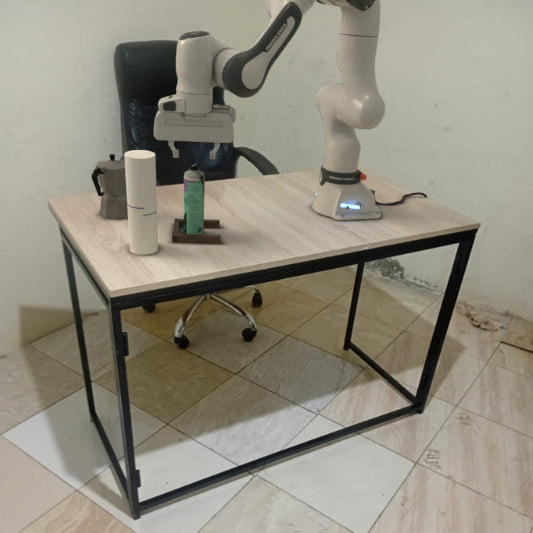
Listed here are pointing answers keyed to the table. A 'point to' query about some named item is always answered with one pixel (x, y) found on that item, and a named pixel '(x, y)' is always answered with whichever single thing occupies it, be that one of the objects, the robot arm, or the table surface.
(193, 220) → the spray can
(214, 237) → the frame
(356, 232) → the table surface
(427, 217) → the table surface
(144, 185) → the cylindrical container
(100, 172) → the coffeepot
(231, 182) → the table surface
